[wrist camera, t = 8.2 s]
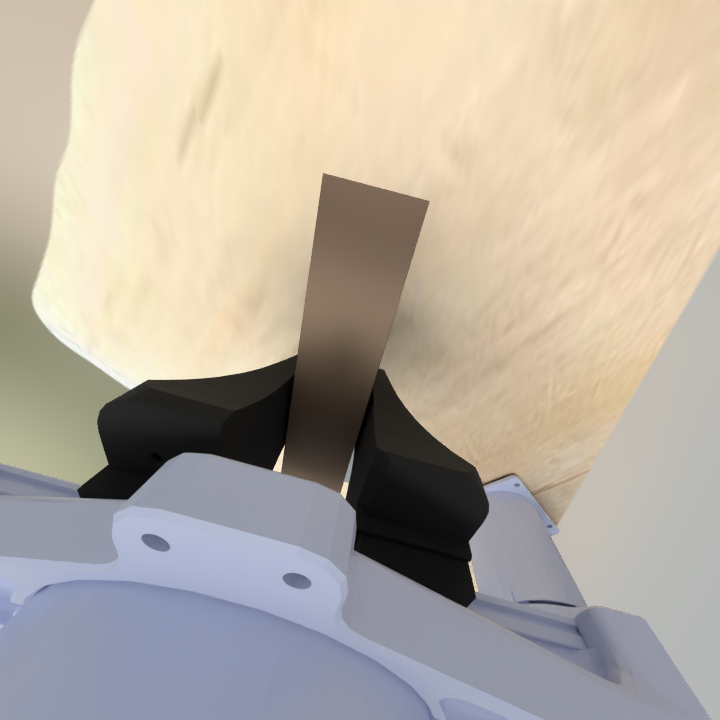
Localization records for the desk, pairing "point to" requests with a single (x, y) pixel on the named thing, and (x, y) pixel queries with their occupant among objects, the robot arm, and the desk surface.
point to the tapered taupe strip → (346, 320)
